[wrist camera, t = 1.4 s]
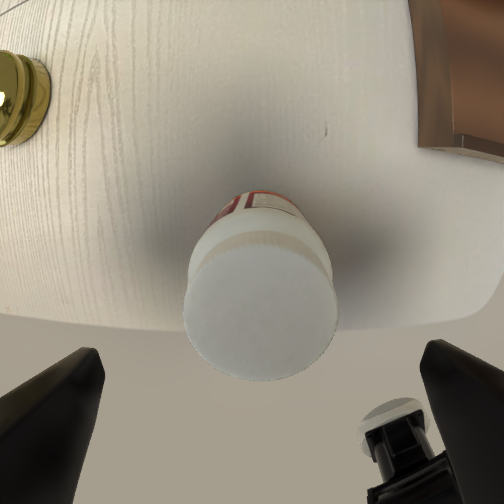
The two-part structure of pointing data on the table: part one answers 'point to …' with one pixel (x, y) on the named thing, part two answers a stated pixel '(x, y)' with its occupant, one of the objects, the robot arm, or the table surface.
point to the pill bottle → (260, 290)
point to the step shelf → (460, 76)
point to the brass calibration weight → (21, 97)
